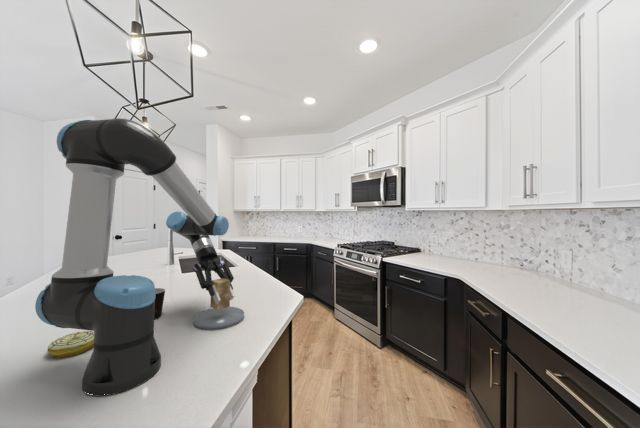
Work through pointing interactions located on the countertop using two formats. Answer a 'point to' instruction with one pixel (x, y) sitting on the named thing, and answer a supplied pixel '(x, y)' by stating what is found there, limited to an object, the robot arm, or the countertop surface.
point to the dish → (218, 318)
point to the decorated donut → (71, 344)
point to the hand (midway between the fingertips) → (225, 300)
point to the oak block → (221, 293)
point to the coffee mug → (159, 302)
